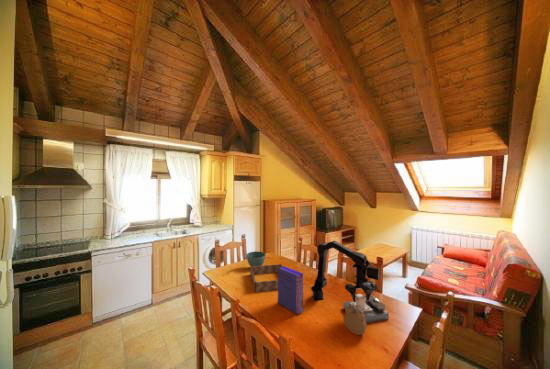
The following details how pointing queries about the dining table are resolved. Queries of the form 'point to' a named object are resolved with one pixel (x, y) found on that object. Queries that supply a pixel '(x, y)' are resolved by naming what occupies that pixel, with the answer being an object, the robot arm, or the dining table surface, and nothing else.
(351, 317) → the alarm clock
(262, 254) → the plant pot
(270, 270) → the serving tray rim
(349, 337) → the dining table surface
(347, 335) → the dining table surface
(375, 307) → the desk telephone
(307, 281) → the dining table surface
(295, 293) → the cereal box
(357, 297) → the pump
